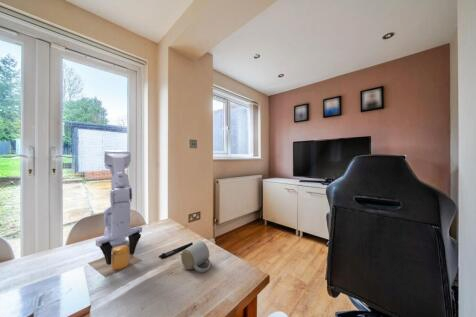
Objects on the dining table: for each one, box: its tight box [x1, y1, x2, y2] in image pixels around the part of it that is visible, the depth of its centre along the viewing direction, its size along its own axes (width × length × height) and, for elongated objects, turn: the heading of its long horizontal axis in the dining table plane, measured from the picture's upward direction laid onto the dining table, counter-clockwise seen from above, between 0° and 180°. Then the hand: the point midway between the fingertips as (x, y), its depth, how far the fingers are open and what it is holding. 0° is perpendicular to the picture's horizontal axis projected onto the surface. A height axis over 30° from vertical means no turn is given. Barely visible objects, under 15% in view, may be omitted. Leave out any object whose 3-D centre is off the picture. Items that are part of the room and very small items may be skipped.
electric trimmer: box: [158, 242, 194, 260], centre depth 75 cm, size 4×16×3 cm, turn 140°
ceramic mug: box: [180, 240, 211, 273], centre depth 67 cm, size 11×8×8 cm
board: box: [87, 253, 143, 279], centre depth 67 cm, size 15×12×6 cm
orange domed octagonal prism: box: [111, 244, 130, 270], centre depth 65 cm, size 5×5×6 cm
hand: (120, 258), depth 65 cm, fingers open, 7 cm apart
